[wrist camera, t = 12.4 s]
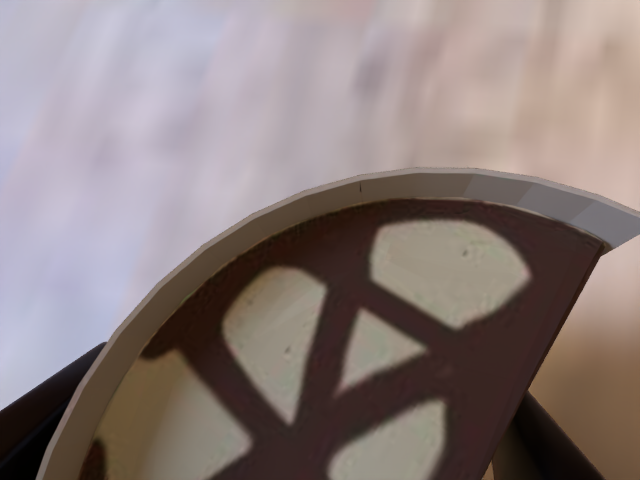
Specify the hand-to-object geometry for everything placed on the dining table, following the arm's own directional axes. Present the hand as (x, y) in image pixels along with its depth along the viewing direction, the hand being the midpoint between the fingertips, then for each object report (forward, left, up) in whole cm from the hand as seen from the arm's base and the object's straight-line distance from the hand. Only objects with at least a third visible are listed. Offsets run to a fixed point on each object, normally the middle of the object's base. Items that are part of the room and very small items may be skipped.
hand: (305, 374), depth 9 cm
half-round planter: (-1, -1, -7) cm, 7 cm away
